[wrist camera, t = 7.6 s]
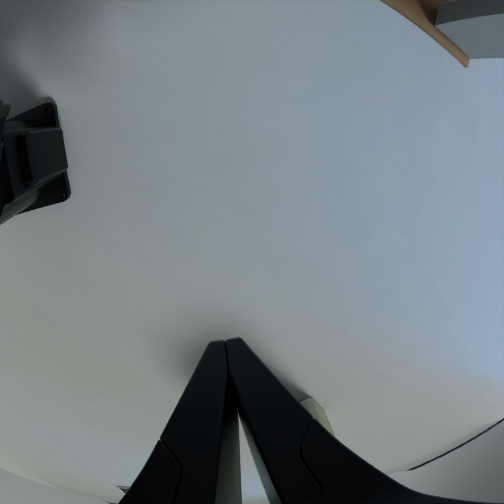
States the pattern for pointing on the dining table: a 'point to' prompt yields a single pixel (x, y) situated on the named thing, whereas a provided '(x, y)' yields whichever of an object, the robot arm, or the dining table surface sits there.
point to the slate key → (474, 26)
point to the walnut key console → (428, 22)
